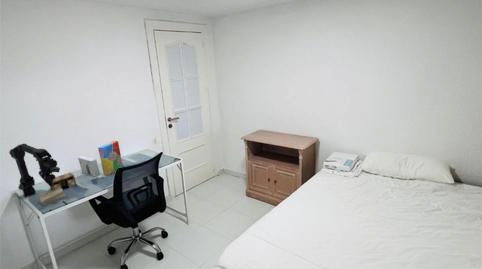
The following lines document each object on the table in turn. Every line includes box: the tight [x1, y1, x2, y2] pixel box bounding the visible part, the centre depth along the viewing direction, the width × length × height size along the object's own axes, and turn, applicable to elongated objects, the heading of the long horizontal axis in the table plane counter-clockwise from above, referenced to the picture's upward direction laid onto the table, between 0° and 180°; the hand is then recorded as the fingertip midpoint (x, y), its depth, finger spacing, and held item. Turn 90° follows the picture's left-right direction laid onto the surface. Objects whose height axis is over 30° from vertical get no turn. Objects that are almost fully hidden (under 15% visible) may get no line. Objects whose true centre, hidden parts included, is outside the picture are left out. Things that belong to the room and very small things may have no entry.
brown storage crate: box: [49, 172, 77, 191], centre depth 206 cm, size 16×9×9 cm, turn 141°
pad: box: [39, 192, 68, 206], centre depth 189 cm, size 16×7×1 cm, turn 141°
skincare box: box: [77, 155, 101, 177], centre depth 230 cm, size 21×6×16 cm, turn 62°
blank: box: [38, 188, 64, 204], centre depth 188 cm, size 4×14×6 cm, turn 139°
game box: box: [97, 140, 124, 176], centre depth 233 cm, size 21×6×27 cm, turn 168°
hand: (49, 184), depth 187 cm, fingers open, 9 cm apart
